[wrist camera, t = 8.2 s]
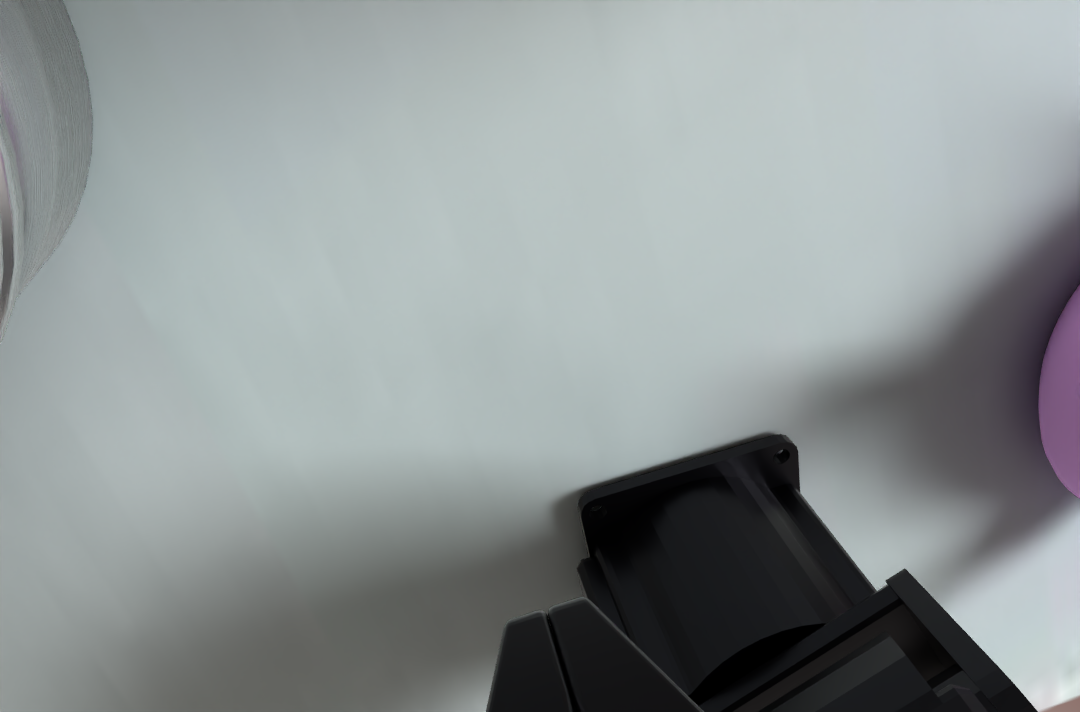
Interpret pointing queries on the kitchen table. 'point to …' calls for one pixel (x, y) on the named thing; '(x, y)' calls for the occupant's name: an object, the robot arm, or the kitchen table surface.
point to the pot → (39, 138)
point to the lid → (1, 255)
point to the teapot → (1062, 396)
